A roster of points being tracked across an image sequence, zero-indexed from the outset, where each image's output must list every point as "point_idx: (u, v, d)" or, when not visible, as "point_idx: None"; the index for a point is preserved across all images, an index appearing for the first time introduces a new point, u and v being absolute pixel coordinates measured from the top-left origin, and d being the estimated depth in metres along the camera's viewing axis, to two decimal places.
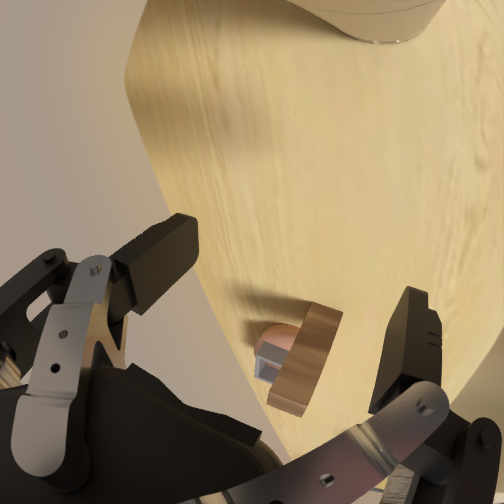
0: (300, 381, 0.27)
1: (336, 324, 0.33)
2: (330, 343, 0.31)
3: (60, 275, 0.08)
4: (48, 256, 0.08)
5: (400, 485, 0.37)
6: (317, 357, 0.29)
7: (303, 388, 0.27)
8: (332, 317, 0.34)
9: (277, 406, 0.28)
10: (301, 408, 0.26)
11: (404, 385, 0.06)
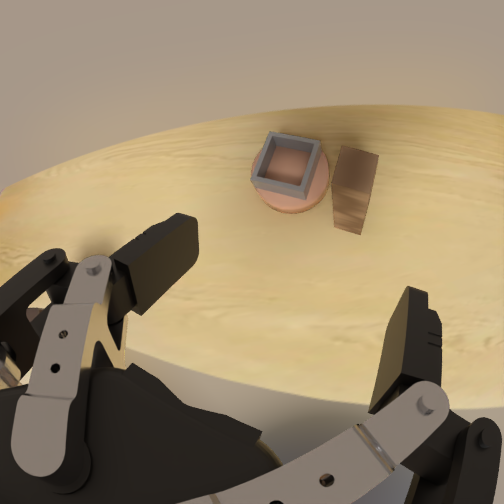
0: (371, 188, 0.26)
1: (362, 227, 0.34)
2: None
3: (60, 275, 0.08)
4: (48, 256, 0.08)
5: None
6: None
7: None
8: None
9: (345, 158, 0.25)
10: (360, 186, 0.24)
11: (404, 385, 0.06)
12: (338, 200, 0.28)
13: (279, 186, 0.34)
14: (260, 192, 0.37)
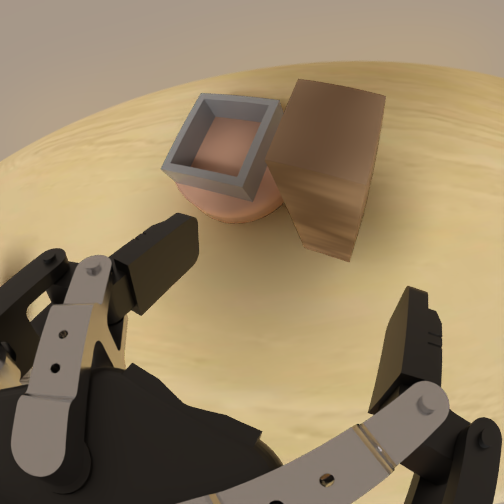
0: (370, 174, 0.11)
1: None
2: None
3: (60, 275, 0.08)
4: (48, 256, 0.08)
5: None
6: (361, 216, 0.14)
7: (369, 180, 0.10)
8: None
9: (304, 102, 0.10)
10: (341, 165, 0.09)
11: (404, 385, 0.06)
12: (296, 202, 0.13)
13: (203, 178, 0.19)
14: (182, 189, 0.22)
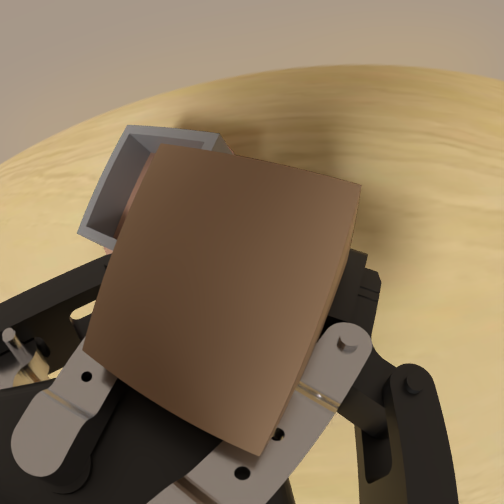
0: (316, 339, 0.06)
1: None
2: None
3: None
4: None
5: None
6: None
7: (302, 372, 0.05)
8: None
9: (157, 211, 0.05)
10: (210, 403, 0.04)
11: None
12: None
13: None
14: None
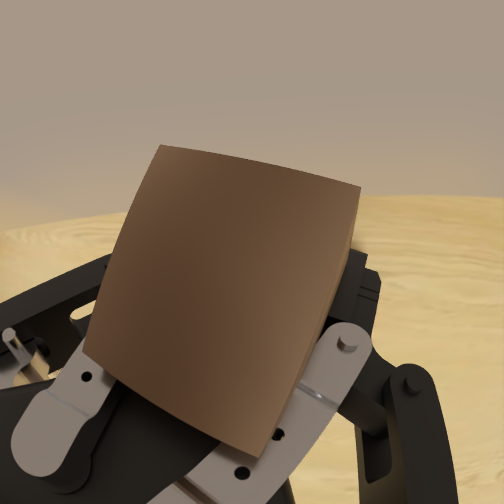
0: (316, 340, 0.06)
1: None
2: None
3: None
4: None
5: None
6: None
7: (301, 373, 0.05)
8: None
9: (156, 213, 0.05)
10: (209, 405, 0.04)
11: None
12: None
13: None
14: None
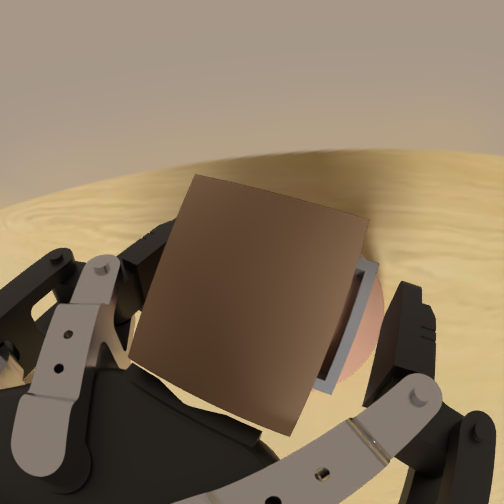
0: None
1: None
2: None
3: (67, 275, 0.08)
4: (55, 255, 0.08)
5: None
6: None
7: None
8: None
9: (197, 237, 0.06)
10: (249, 396, 0.05)
11: (397, 377, 0.06)
12: None
13: None
14: None
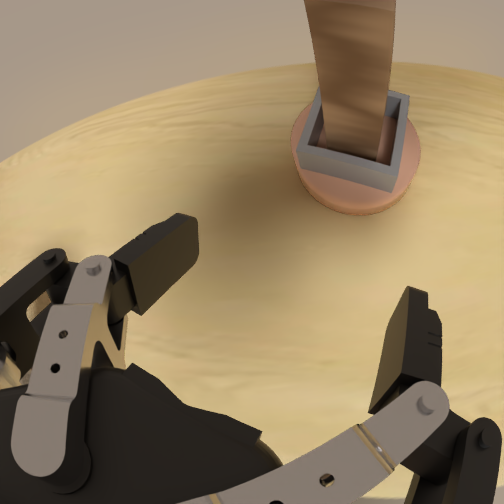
0: (393, 34, 0.09)
1: (378, 148, 0.17)
2: None
3: (60, 275, 0.08)
4: (48, 256, 0.08)
5: None
6: None
7: None
8: None
9: None
10: (370, 1, 0.07)
11: (404, 385, 0.06)
12: (328, 61, 0.11)
13: (352, 164, 0.17)
14: (309, 176, 0.20)
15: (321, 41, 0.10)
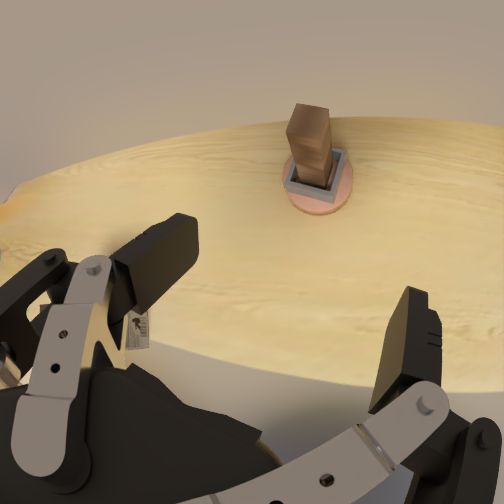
0: (324, 138, 0.30)
1: (325, 182, 0.37)
2: (324, 173, 0.35)
3: (60, 275, 0.08)
4: (48, 256, 0.08)
5: None
6: (324, 158, 0.33)
7: (322, 139, 0.29)
8: (327, 180, 0.38)
9: (299, 112, 0.29)
10: (311, 132, 0.28)
11: (404, 385, 0.06)
12: (296, 150, 0.32)
13: (311, 191, 0.38)
14: (291, 195, 0.41)
15: (293, 144, 0.30)
